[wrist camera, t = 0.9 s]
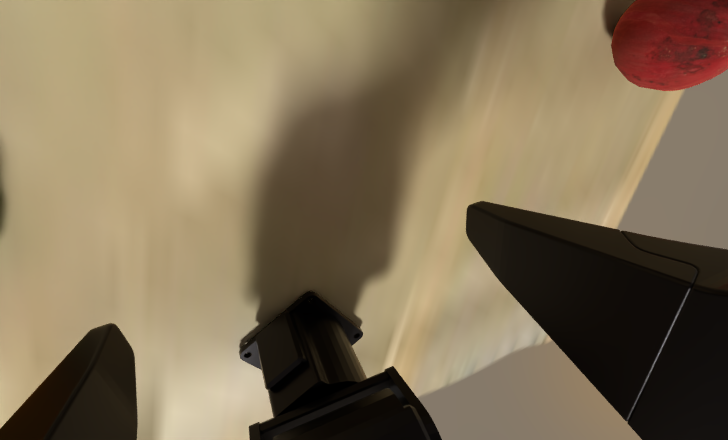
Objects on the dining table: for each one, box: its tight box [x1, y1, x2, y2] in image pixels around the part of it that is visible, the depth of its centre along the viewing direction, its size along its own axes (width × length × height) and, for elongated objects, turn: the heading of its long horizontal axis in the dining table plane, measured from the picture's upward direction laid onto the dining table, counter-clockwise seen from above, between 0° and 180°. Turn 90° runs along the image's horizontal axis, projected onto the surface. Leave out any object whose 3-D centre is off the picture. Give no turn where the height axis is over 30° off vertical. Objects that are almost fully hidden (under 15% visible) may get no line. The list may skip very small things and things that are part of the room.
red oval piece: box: [611, 0, 728, 91], centre depth 21 cm, size 6×6×8 cm
